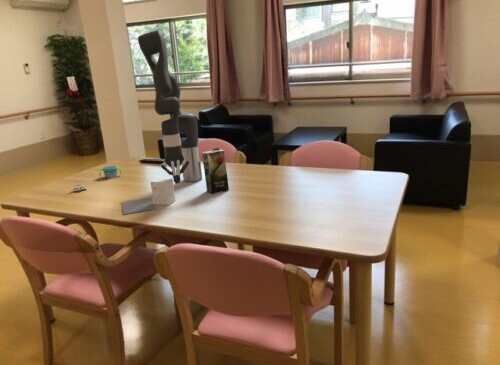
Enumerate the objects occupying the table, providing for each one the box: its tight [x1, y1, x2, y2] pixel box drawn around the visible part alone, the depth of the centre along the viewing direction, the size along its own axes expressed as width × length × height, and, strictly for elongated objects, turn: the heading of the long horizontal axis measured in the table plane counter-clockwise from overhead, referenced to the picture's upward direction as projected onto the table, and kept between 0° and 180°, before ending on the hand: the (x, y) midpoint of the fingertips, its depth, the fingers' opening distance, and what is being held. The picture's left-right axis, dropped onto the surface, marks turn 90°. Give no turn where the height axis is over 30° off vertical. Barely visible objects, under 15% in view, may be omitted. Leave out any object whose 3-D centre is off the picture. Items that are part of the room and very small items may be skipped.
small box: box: [150, 178, 176, 206], centre depth 178 cm, size 8×6×10 cm
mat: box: [121, 196, 156, 216], centre depth 178 cm, size 13×18×1 cm
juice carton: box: [201, 147, 230, 195], centre depth 189 cm, size 20×10×6 cm
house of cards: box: [71, 178, 87, 193], centre depth 203 cm, size 9×9×8 cm
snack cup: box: [99, 165, 122, 179], centre depth 226 cm, size 11×8×7 cm
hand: (177, 183), depth 179 cm, fingers closed
